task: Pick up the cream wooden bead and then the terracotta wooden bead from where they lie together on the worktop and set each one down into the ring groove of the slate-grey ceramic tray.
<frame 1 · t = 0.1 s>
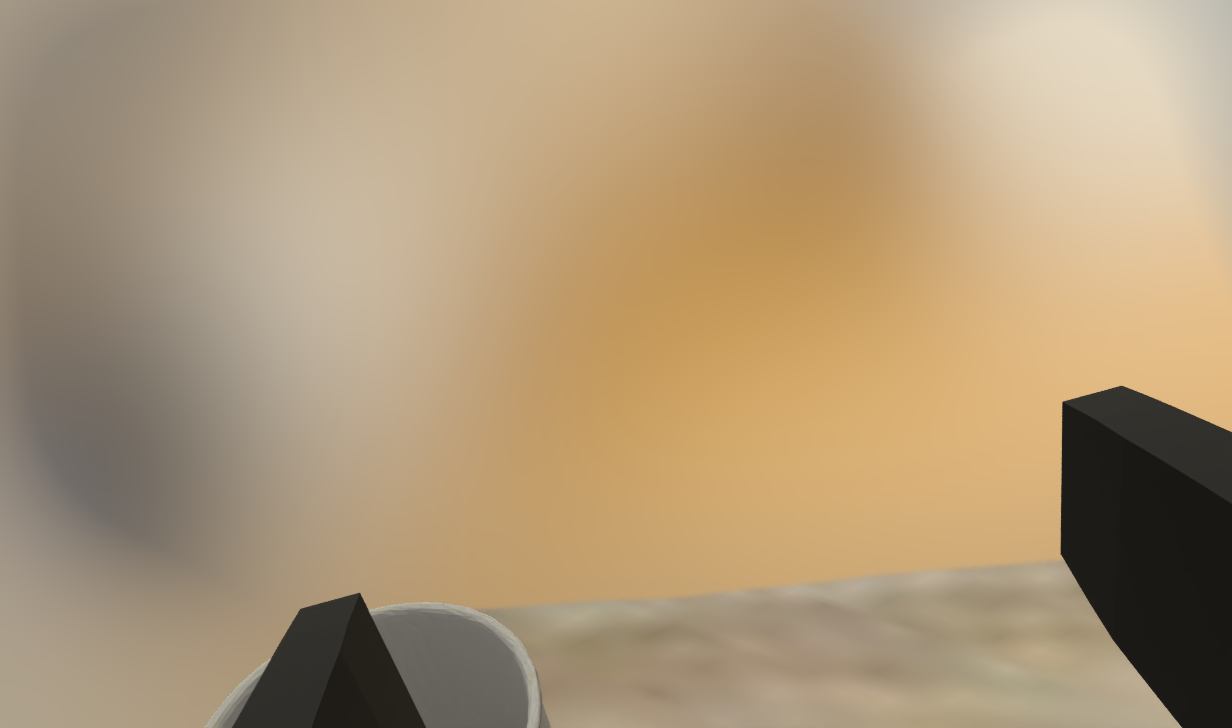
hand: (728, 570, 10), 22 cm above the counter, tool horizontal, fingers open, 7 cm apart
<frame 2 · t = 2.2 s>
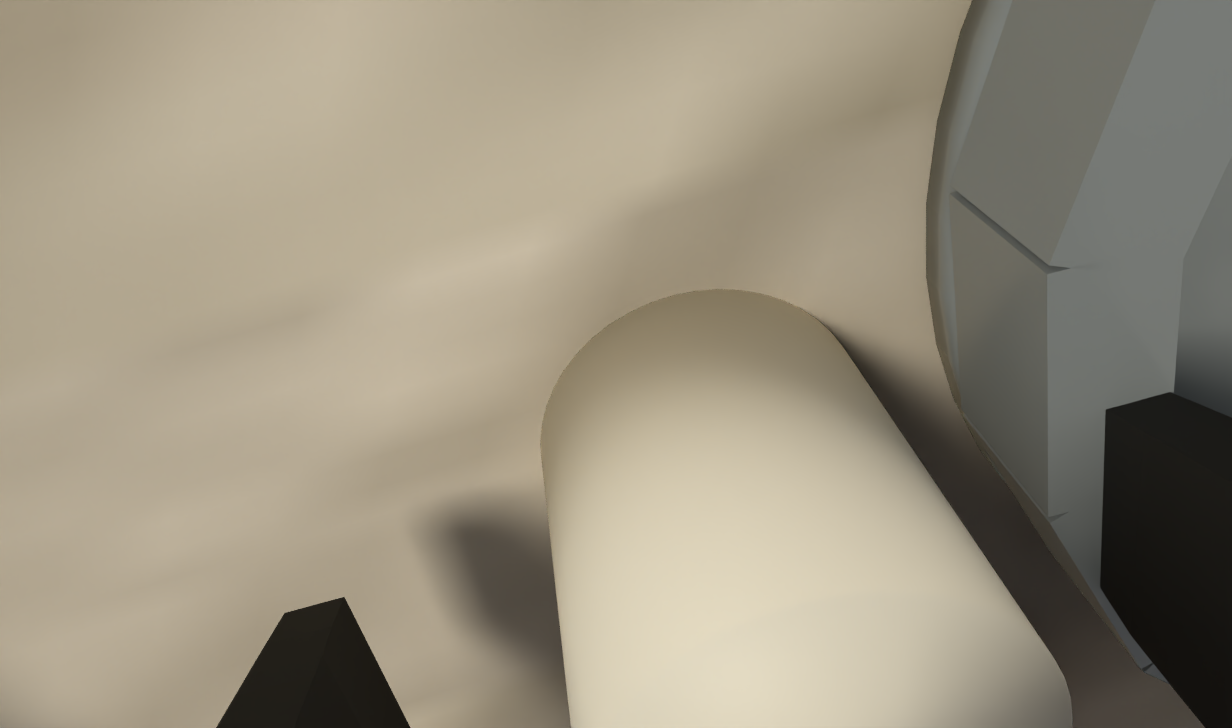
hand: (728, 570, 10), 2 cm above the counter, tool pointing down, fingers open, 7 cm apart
bead cream: (703, 437, 12), on the counter
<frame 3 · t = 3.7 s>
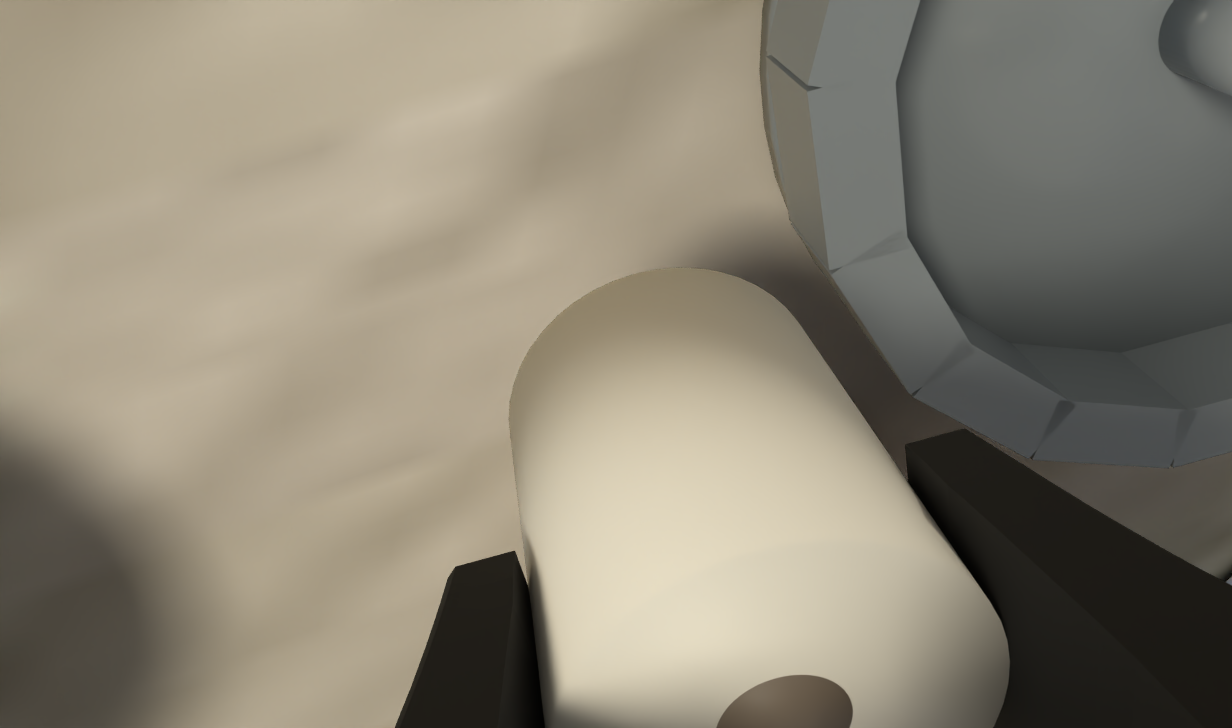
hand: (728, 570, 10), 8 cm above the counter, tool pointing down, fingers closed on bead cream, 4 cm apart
groove tray: (1175, 15, 16), on the counter
bead cream: (666, 411, 13), point 5 cm above the counter, touching gripper
when the fingers open (3 cm above the counter, at t = 5.8 s): bead cream stays where it is, resting on groove tray.
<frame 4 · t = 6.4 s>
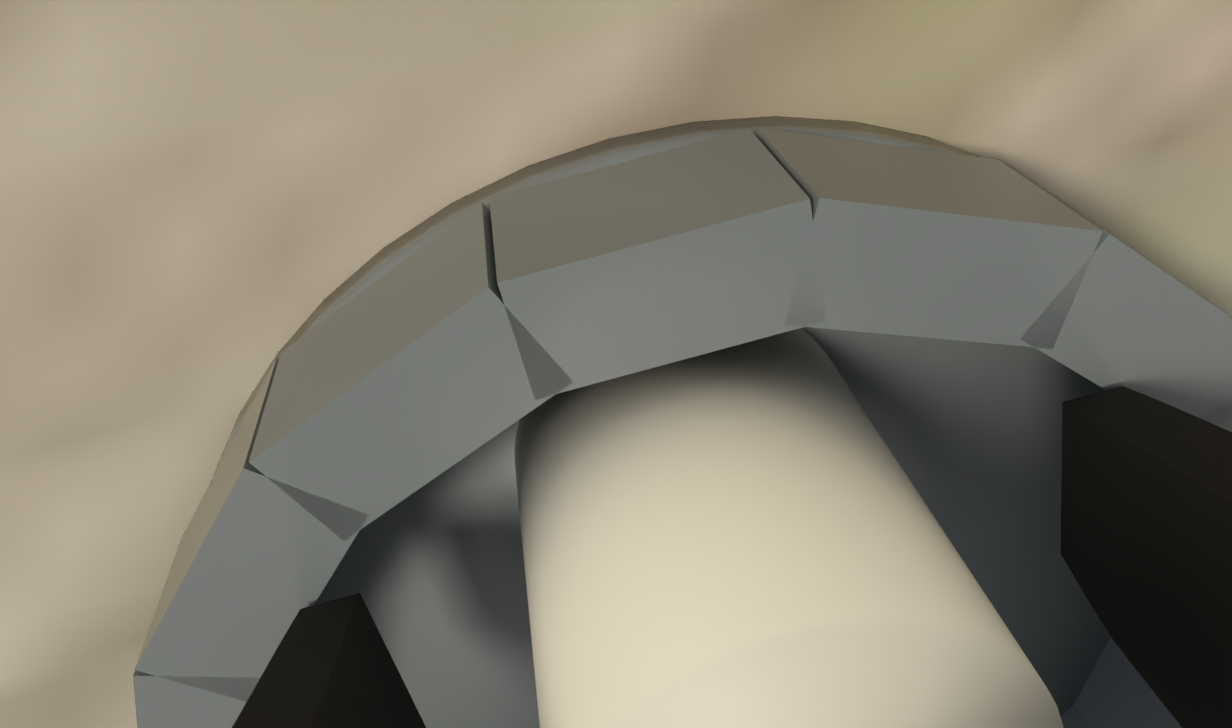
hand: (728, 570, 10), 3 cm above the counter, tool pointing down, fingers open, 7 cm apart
groove tray: (717, 600, 14), on the counter
bead cream: (682, 446, 12), point 1 cm above the counter, touching groove tray
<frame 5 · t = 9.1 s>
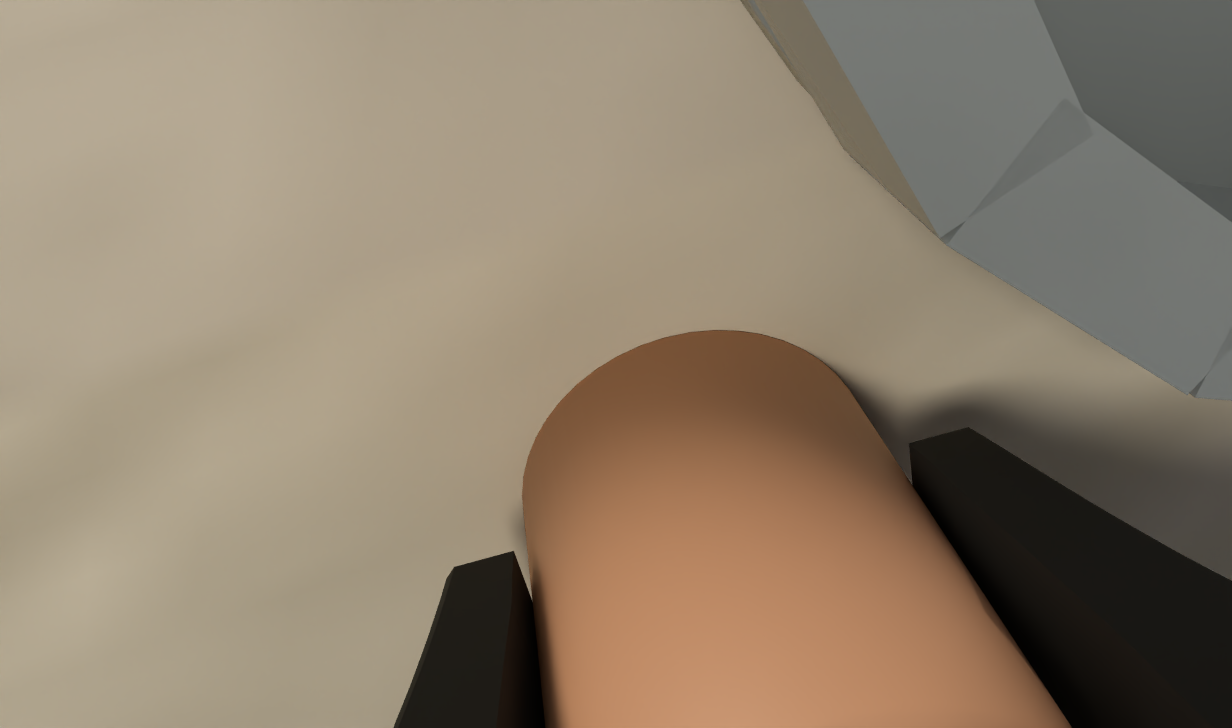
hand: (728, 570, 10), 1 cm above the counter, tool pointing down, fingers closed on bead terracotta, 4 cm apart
bead terracotta: (698, 486, 11), on the counter, touching gripper
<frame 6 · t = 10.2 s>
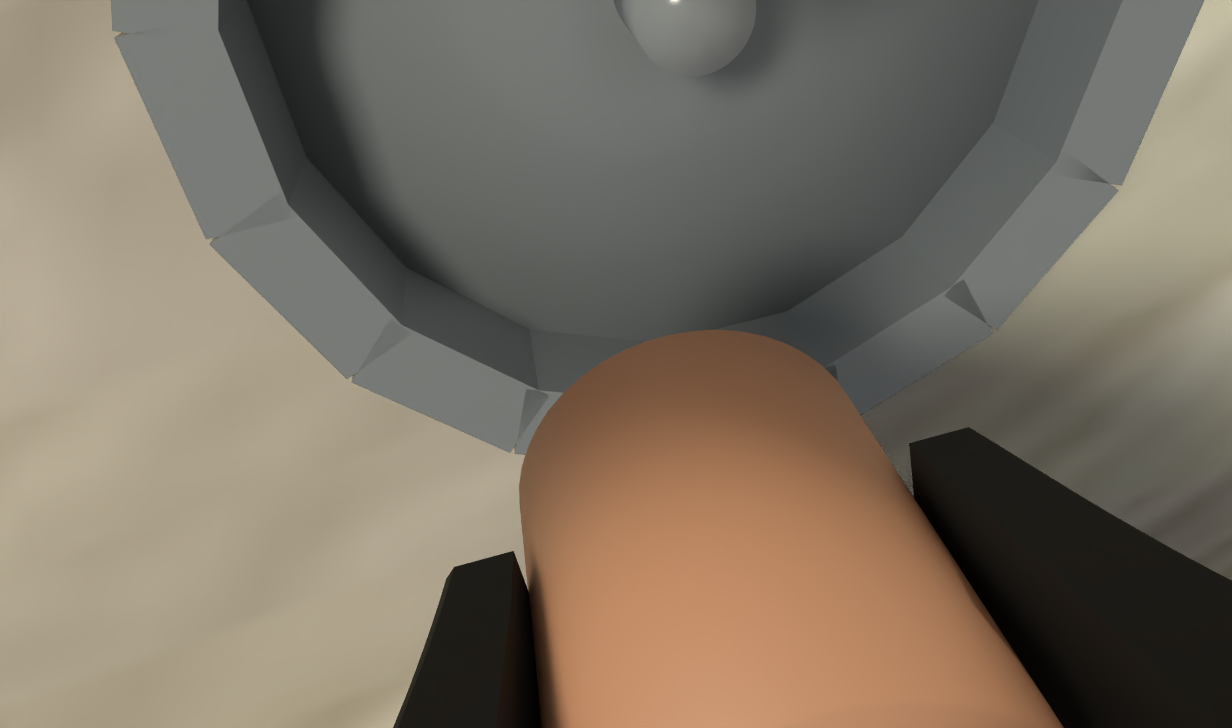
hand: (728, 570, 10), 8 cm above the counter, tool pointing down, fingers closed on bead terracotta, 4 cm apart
bead terracotta: (694, 484, 12), point 7 cm above the counter, touching gripper
when the fingers open (3 cm above the counter, at t = 11.8 s): bead terracotta stays where it is, resting on groove tray.
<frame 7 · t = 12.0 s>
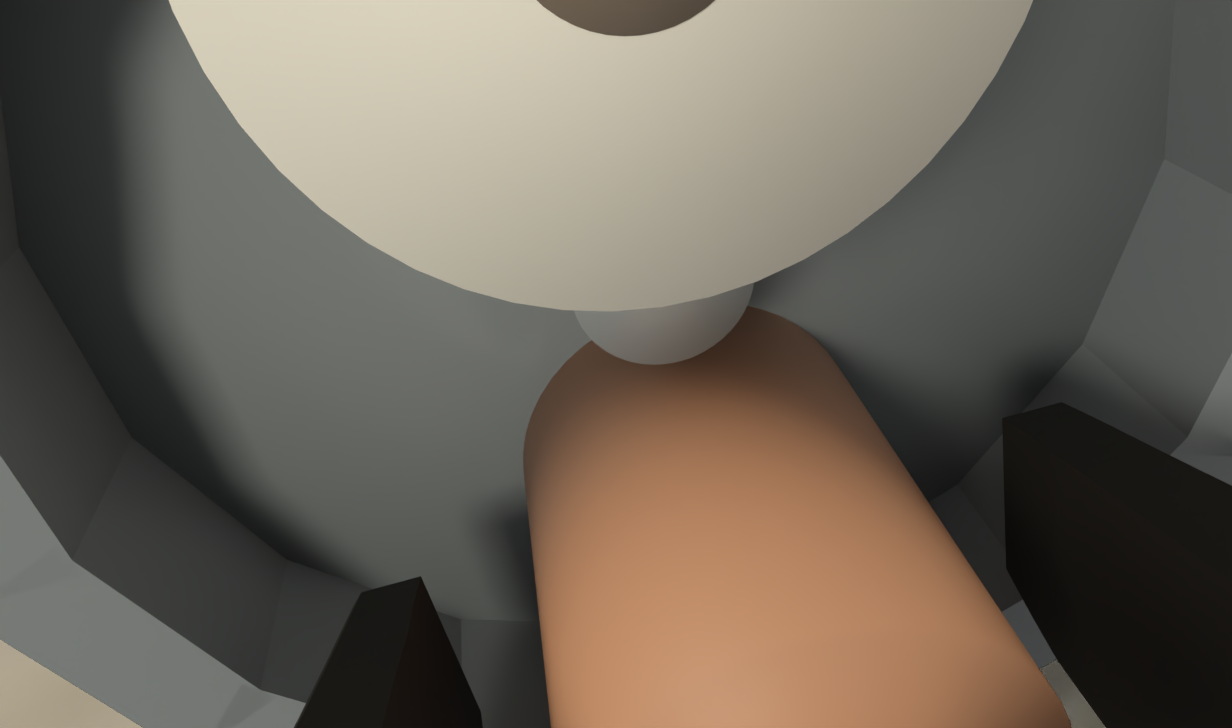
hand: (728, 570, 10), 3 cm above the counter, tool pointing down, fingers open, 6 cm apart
groove tray: (616, 174, 11), on the counter
bead terracotta: (690, 451, 12), point 1 cm above the counter, touching groove tray
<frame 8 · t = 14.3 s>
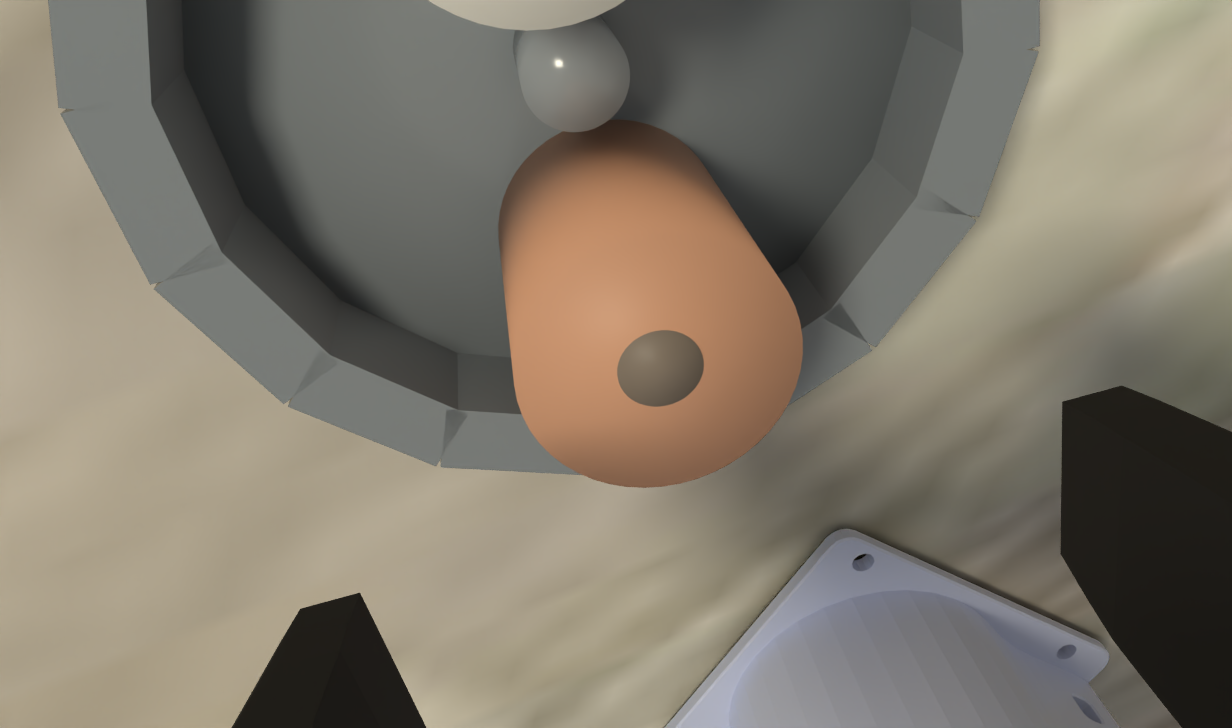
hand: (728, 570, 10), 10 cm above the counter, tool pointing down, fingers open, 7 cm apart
groove tray: (557, 36, 17), on the counter
bead terracotta: (610, 229, 18), point 1 cm above the counter, touching groove tray
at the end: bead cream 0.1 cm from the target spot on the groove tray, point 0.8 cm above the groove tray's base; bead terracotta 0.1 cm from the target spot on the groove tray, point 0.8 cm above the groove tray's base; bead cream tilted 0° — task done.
